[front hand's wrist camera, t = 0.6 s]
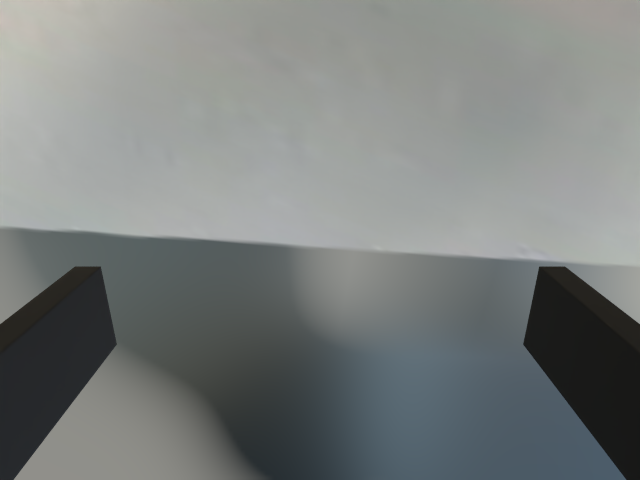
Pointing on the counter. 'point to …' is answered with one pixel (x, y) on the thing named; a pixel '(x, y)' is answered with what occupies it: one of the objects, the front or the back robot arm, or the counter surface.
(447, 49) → the counter surface
